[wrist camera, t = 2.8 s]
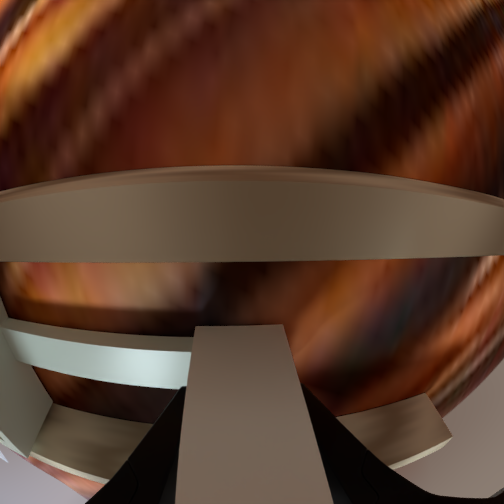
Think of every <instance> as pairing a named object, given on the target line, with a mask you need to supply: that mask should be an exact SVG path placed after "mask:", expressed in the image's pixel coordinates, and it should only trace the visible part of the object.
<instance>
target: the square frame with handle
mask: <svg viewBox="0 0 504 504" xmlns="http://www.w3.org/2000/svg"><path fill="white" fill-rule="evenodd" d="M31 365H33V366H37V367H40V368H44V369H48V370H52V371H56V372H60V373H64V374H69V375H73V376H78V377H83V378H88V379H94V380H100V381H106V382H112V383H119V384H127V385H135V386H144V387H155V388H168V389H180V387H182V386H187V387H186V395H185V403H184V411H183V420H182V429H181V438H180V448H179V459H178V470H177V483H176V497H175V504H334V503H333V500H332V496H331V492H330V489H329V485H328V481H327V478H326V474H325V470H324V467H323V463H322V459H321V456H320V452H319V449H318V445H317V441H316V438H315V434H314V431H313V427H312V424H311V420H310V416H309V413H308V409H307V406H306V402H305V399H304V395H303V392H302V388H301V385H300V381H299V378H298V374H297V371H296V367H295V364H294V361H293V357H292V354H291V350H290V347H289V343H288V340H287V336H286V333H285V330H284V326H283V324H278V325H252V326H195V332H194V337H167V336H147V335H131V334H118V333H107V332H97V331H88V330H79V329H71V328H64V327H57V326H51V325H44V324H38V323H32V322H27V321H22V320H17V319H12V318H8V316H7V313H6V311H5V308H4V305H3V303H2V300H1V297H0V443H1V444H3V445H4V446H6V447H8V448H10V449H11V450H13V451H15V452H17V453H19V454H20V455H22V456H24V457H26V458H28V457H29V455H30V452H31V450H32V447H33V445H34V442H35V440H36V438H37V435H38V433H39V431H40V429H41V426H42V424H43V422H44V420H45V418H46V416H47V413H48V411H49V409H50V407H51V405H52V403H53V401H52V399H51V398H50V396H49V395H48V393H47V391H46V390H45V388H44V387H43V385H42V383H41V382H40V380H39V378H38V377H37V375H36V373H35V372H34V370H33V368H32V366H31Z"/></svg>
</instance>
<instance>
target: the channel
mask: <svg viewBox="0 0 504 504" xmlns="http://www.w3.org/2000/svg"><path fill="white" fill-rule="evenodd" d="M493 255H504V199H501V198H498V197H495V196H492V195H488V194H484V193H480V192H475V191H471V190H467V189H462V188H457V187H453V186H448V185H443V184H437V183H432V182H427V181H421V180H415V179H408V178H402V177H395V176H388V175H380V174H372V173H364V172H354V171H344V170H333V169H320V168H305V167H286V166H250V165H220V166H184V167H165V168H150V169H138V170H127V171H117V172H108V173H99V174H91V175H84V176H77V177H70V178H64V179H58V180H52V181H47V182H41V183H36V184H31V185H26V186H22V187H17V188H12V189H8V190H4V191H0V262H263V261H322V260H368V259H406V258H438V257H467V256H493ZM336 418H337V419H338V420H339V421H340V422H341V423H342V424H343V425H344V426H345V427H346V428H347V429H348V430H349V431H350V432H351V433H352V434H353V435H354V436H355V437H356V438H357V439H358V440H359V441H360V442H361V443H362V444H363V445H364V446H366V447H367V450H368V449H369V450H370V451H371V452H372V453H373V454H374V455H375V456H376V457H377V458H379V459H380V460H381V461H382V462H383V463H384V464H386V465H387V466H388V467H390V468H391V469H392V470H394V469H396V468H399V467H401V466H404V465H406V464H409V463H411V462H413V461H416V460H418V459H420V458H422V457H424V456H426V455H428V454H430V453H433V452H435V451H436V450H438V449H440V448H442V447H444V446H445V445H446V444H447V442H448V441H449V440H450V439H451V438H452V437H453V436H452V435H451V433H450V431H449V429H448V428H447V426H446V424H445V423H444V421H443V419H442V418H441V416H440V415H439V413H438V412H437V410H436V408H435V407H434V405H433V404H432V402H431V401H430V399H429V398H428V396H427V395H426V393H423V394H420V395H418V396H415V397H412V398H409V399H406V400H402V401H399V402H396V403H393V404H389V405H386V406H382V407H378V408H375V409H371V410H367V411H363V412H358V413H354V414H349V415H344V416H340V417H336ZM152 425H153V424H148V423H141V422H134V421H127V420H121V419H116V418H110V417H105V416H100V415H96V414H91V413H87V412H83V411H79V410H75V409H71V408H68V407H64V406H61V405H57V404H54V403H52V405H51V407H50V409H49V411H48V413H47V416H46V418H45V420H44V422H43V424H42V426H41V429H40V431H39V433H38V435H37V438H36V440H35V442H34V445H33V447H32V450H31V452H30V456H32V457H34V458H36V459H38V460H40V461H42V462H45V463H47V464H49V465H51V466H54V467H56V468H59V469H61V470H64V471H66V472H69V473H72V474H74V475H77V476H80V477H83V478H86V479H89V480H92V481H96V482H99V483H103V484H106V483H107V482H108V481H109V480H110V479H111V478H112V477H113V476H114V475H115V474H116V472H117V471H118V470H119V469H120V468H121V466H122V465H123V464H124V462H125V461H126V460H128V457H129V456H130V455H131V453H132V452H133V451H134V449H135V448H136V447H137V445H138V444H139V443H140V441H141V440H142V439H143V437H144V436H145V435H146V433H147V432H148V431H149V429H150V428H151V427H152Z"/></svg>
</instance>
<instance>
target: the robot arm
mask: <svg viewBox="0 0 504 504" xmlns="http://www.w3.org/2000/svg"><path fill="white" fill-rule="evenodd" d="M300 385H301V388H302V392H303V395H304V399H305V402H306V406H307V409H308V413H309V416H310V420H311V424H312V427H313V431H314V434H315V438H316V441H317V445H318V449H319V452H320V456H321V459H322V463H323V467H324V470H325V474H326V478H327V481H328V485H329V489H330V492H331V496H332V500H333V503H334V504H504V488H502V489H501V490H499V491H498V492H496V493H495V494H494V495H492V496H491V497H489V498H482V499H481V498H459V497H448V496H439V495H435V494H431V493H429V492H427V491H425V490H423V489H421V488H419V487H418V486H416V485H414V484H413V483H412V482H410V481H408V480H407V479H405V478H404V477H402V476H401V475H399V474H398V473H396V472H395V471H393V470H392V469H391V468H390V467H388V466H387V465H386V464H384V463H383V462H382V461H381V460H380V459H379V458H377V457H376V456H375V455H374V454H373V453H372V452H371V451H370V450H369V449H368V450H367V447H366V446H364V445H363V444H362V443H361V442H360V441H359V440H358V439H357V438H356V437H355V436H354V435H353V434H352V433H351V432H350V431H349V430H348V429H347V428H346V427H345V426H344V425H343V424H342V423H341V422H340V421H339V420H338V419H337V418H336V417H335V416H334V415H333V414H332V413H331V412H330V411H329V410H328V409H327V408H326V407H325V406H324V405H323V404H322V403H321V402H320V401H319V400H318V399H317V398H316V397H315V396H314V395H313V394H312V392H311V391H310V390H309V389H308V388H307V387H306V386H305V385H304V384H303V383H300ZM186 387H187V386H182V387H180V389H179V390H178V391H177V393H176V394H175V395H174V397H173V398H172V400H171V401H170V402H169V404H168V405H167V406H166V408H165V409H164V410H163V412H162V413H161V415H160V416H159V417H158V419H157V420H156V421H155V423H154V424H153V425H152V427H151V428H150V429H149V431H148V432H147V433H146V435H145V436H144V437H143V439H142V440H141V441H140V443H139V444H138V445H137V447H136V448H135V449H134V451H133V452H132V453H131V455H130V456H129V457H128V460H126V461H125V462H124V464H123V465H122V466H121V468H120V469H119V470H118V471H117V472H116V474H115V475H114V476H113V477H112V478H111V479H110V480H109V481H108V482H107V483H106V484H105V485H104V486H103V487H102V488H101V489H100V490H99V491H98V492H97V493H96V494H95V495H94V496H93V497H92V498H91V499H89V500H88V501H87V502H86V503H85V504H175V497H176V483H177V470H178V459H179V448H180V438H181V429H182V420H183V411H184V403H185V395H186Z"/></svg>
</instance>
